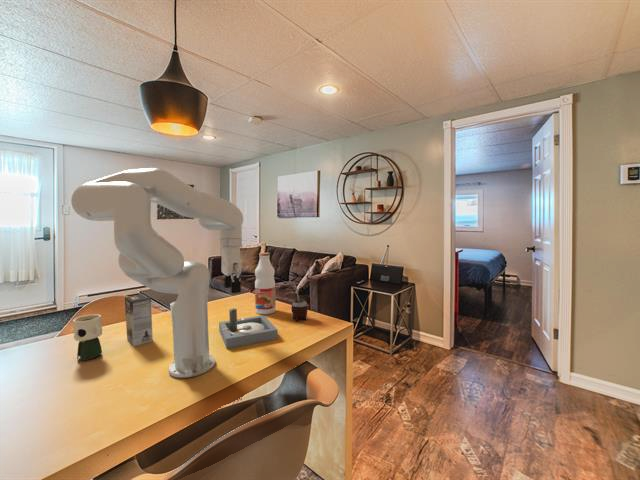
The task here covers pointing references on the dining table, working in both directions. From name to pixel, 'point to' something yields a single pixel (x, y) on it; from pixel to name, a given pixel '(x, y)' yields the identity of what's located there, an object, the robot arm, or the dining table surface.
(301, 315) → the mate gourd
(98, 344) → the character mug
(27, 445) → the dining table surface
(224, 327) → the housing
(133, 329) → the coffee box
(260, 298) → the fruit juice
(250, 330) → the dial
